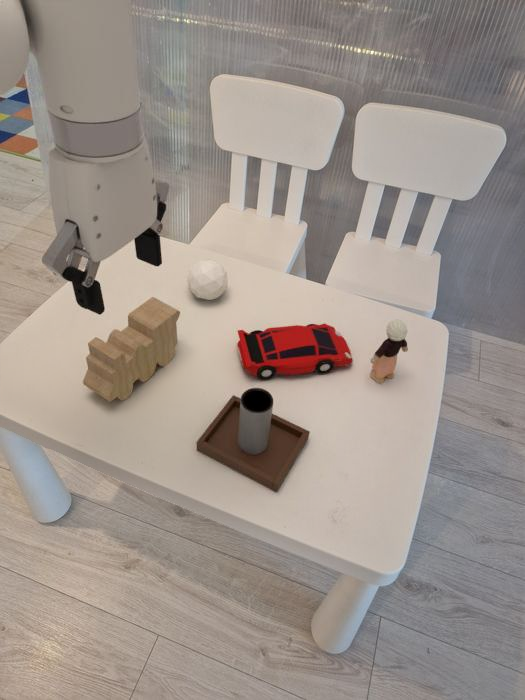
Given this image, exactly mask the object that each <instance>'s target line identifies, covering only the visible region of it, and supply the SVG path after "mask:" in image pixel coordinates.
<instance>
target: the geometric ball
mask: <svg viewBox="0 0 525 700" xmlns="http://www.w3.org/2000/svg"><path fill="white" fill-rule="evenodd" d="M187 274H188V275H187V286H188V289H189V290H190V291H191V293H192V294H193V295H194V296H195V298H197V299H203V300H207V301H208V300H209V301H210V300H215V299H218V298H219V297H220V296H221V295H222V294H223V293H224V292H225V291H226V289H227V286H228V284H229V283H228V271H227V270H226V269H225V267H223V265H221V263H220V262H219V261H216V260H213V259H201V260H198V261H197V262H195V264H193V265H192V266H191V267H190V269H189V271H188V273H187Z"/></svg>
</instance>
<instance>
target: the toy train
mask: <svg viewBox="0 0 525 700" xmlns="http://www.w3.org/2000/svg"><path fill="white" fill-rule="evenodd" d="M180 315H181V311H180V310H178V309H176V308H174V307H173V306H172V305H170V304H167V303H165V302H163V301H162V300H160V299H158V298H156V297H153V296H151V297H150V298H149V299H147V300H146V301H145V302H143V303H142V304H140V305H139V306H137V307H136V308H135V309H134V310H131V311H130V312H129V313H128V314H127V326H126V327H125V328H123V329H121V330H119V329H116V328H114V329H112V331H111V332H110V333H109V335H108V337H107V340H106V341H104V340H102V339H100V338H99V337H97V336H96V337H94V338H93V339H90V341H88V342H87V346H88V350H89V354H88V355H86V356H85V360H86V365H87V370H86V373H85V375H84V377H83V380H82V384H83V385H84V386H85V387H86V388H88V389H90V390H91V391H93V392H94V393H95V394H97V395H98V396H100V397H102V398H103V399H105V400H106V401H108V402H112V401H114V400H115V399H116V398H117V399H118V400H120V401H125V400H127V399H128V398H129V397H130V396H131V394H132V392H133V389H134V383H135V382H136V381H137V380H138V381H140V382H142V383H145V382H147V381H148V380H149V379H151V378H152V376H153V375H154V373H155V370H156V368H157V365H158V366H159V367H164V366H167V365H168V364H169V363H170V362H171V361H172V359H173V358H174V356H175V352H176V347H177V345H178V329H177V328H178V327H177V322H178V320H179V318H180Z"/></svg>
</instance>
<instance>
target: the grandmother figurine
mask: <svg viewBox="0 0 525 700" xmlns="http://www.w3.org/2000/svg"><path fill="white" fill-rule="evenodd" d="M407 334H408V328H407V324H406V323H405V322H404V320H401V319H395V320H391V321H390V322H389V323H388V324H387V326H386V336H387V338H386V339H385V340H383V342H382V343H381V344H380V346H379V347H378V348H377V350H376V351H375V352H374V354H373V356H372V357H371V358H370V363H371V364H372V366H371V368H372V370H373V371H372V372H371V373H370V374H369V376H370V378H371V379H372V380H373V381H374V382H376V383H377V384H383V383H385V381H386V379H385V378H387V379H393V378H394V377H395V369H396V366H397V362H398V361H397V360H398V354H399V353H400V351H402V352H403V353H407V352H408V350H409V347H408V342H407V340H406V337H407Z"/></svg>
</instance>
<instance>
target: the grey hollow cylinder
mask: <svg viewBox="0 0 525 700" xmlns="http://www.w3.org/2000/svg"><path fill="white" fill-rule="evenodd" d="M240 398H241V401H240V417H239V433H238V445H239V447H240V449H241V450H242V451H243V452H245V453H247V454H250V455H257V454H260V453H262V452H263V451H265V449H266V448H267V445H268V439H269V432H270V424H271V417H272V414H273V409H274V398H273V395H272V394H271V393H270V392H269V391H268V390H266V389H264V388H261V387H252V388H248V389H246V390H245V391H244V392H243V393H242V394H241V396H240Z"/></svg>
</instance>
